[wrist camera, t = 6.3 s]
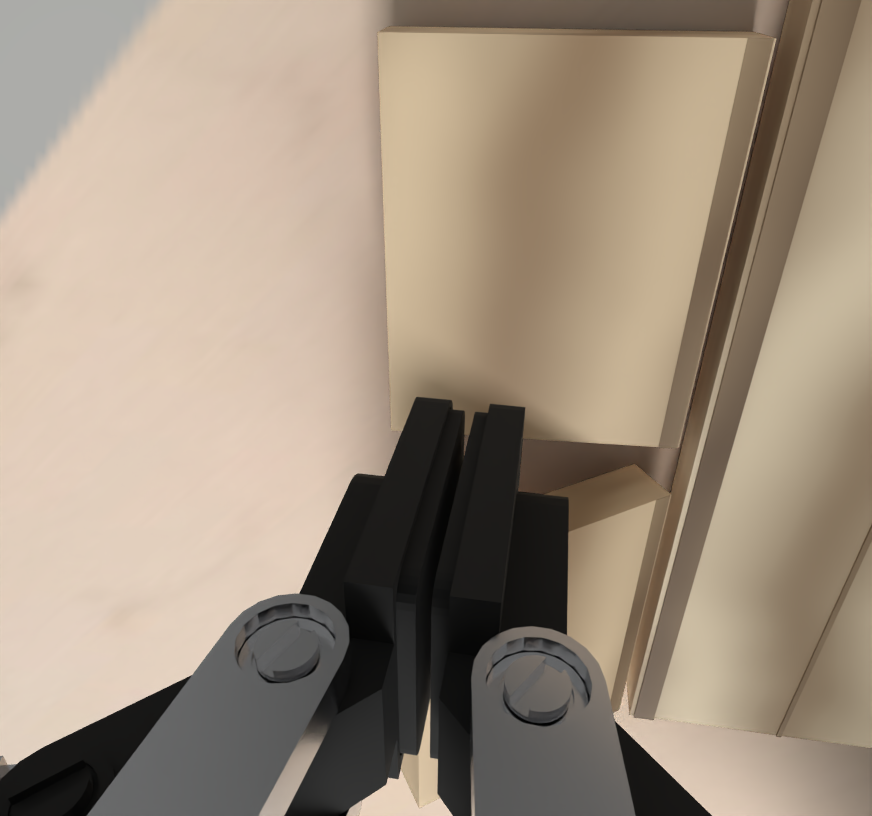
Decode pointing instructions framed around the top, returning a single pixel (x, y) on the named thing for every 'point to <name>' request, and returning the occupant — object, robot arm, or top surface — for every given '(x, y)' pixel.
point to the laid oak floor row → (781, 427)
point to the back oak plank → (593, 585)
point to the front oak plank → (560, 218)
